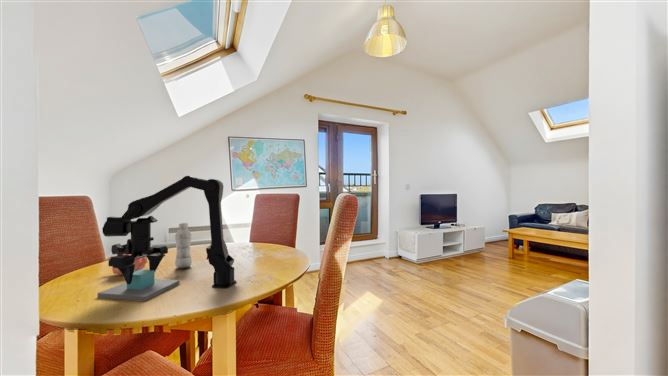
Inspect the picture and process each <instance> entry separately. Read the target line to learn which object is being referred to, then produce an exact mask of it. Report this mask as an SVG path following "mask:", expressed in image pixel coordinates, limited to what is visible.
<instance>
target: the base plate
mask: <svg viewBox="0 0 668 376" xmlns="http://www.w3.org/2000/svg"><path fill="white" fill-rule="evenodd" d="M178 285H180V280H178V279H164V278H162V279H161V278H154V284H153V285H151V286H149V287H146V288H144V289H142V290H136V289H127V283H126V281H124V282H123V283H120V284H117V285H114V286H113V287H109V288H107V289H105V290H102V291H100V292H97V298H99V299H112V300H122V301H123V300H126V301H136V302H139V301H140V302H147V301H149V300H151V299H153V298H154V297H157V296H158V295H161V294H163V293H164V292H167V291H168V290H169V291H170V289H172V288H175V287H176V286H178Z"/></svg>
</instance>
